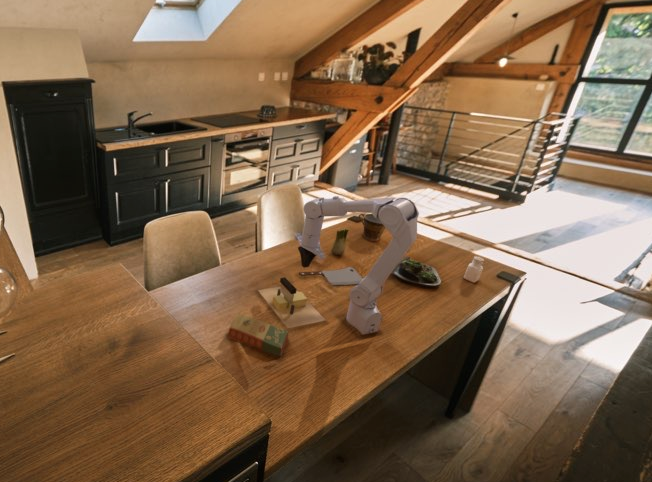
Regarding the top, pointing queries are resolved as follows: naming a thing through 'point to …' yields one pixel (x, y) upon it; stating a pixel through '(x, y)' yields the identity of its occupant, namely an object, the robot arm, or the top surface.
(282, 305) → the butter slice
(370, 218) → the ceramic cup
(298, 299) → the butter block
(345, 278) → the kitchen cleaver
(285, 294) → the dough scraper
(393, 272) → the salad plate
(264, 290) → the board
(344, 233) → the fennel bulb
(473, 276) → the pepper shaker
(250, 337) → the carton
